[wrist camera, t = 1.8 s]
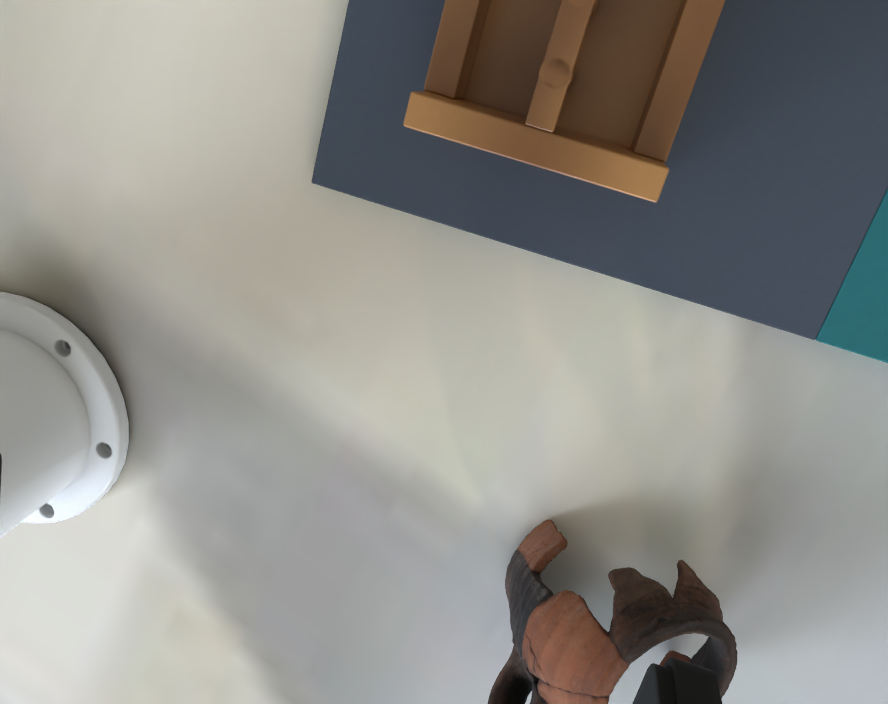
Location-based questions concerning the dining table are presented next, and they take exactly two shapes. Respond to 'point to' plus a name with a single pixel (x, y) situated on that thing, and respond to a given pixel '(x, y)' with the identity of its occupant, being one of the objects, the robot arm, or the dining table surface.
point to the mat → (689, 161)
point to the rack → (568, 83)
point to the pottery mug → (599, 629)
